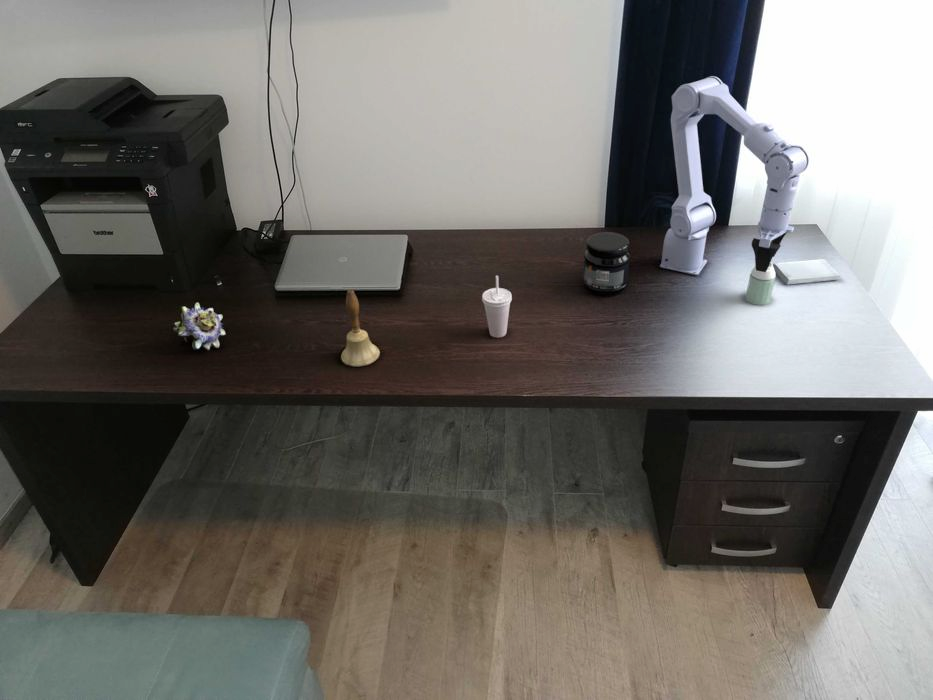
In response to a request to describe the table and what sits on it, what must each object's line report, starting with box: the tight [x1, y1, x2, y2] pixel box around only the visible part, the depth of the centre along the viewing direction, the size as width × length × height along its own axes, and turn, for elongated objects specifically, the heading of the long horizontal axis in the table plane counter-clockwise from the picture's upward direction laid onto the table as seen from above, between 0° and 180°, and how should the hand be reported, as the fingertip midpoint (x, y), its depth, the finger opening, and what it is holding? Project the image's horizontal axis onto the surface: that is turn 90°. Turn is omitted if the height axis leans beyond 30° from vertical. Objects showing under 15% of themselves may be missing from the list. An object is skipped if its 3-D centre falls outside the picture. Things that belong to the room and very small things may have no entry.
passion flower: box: [171, 302, 226, 351], centre depth 159 cm, size 11×11×12 cm
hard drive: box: [772, 258, 841, 285], centre depth 170 cm, size 2×8×12 cm
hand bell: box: [340, 289, 381, 368], centre depth 149 cm, size 8×8×16 cm
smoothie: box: [481, 275, 513, 338], centre depth 154 cm, size 6×6×14 cm
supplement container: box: [582, 231, 631, 296], centre depth 168 cm, size 10×10×12 cm
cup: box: [745, 273, 776, 306], centre depth 161 cm, size 5×5×6 cm
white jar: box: [750, 262, 777, 280], centre depth 159 cm, size 5×3×5 cm
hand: (765, 262), depth 158 cm, fingers open, 7 cm apart
